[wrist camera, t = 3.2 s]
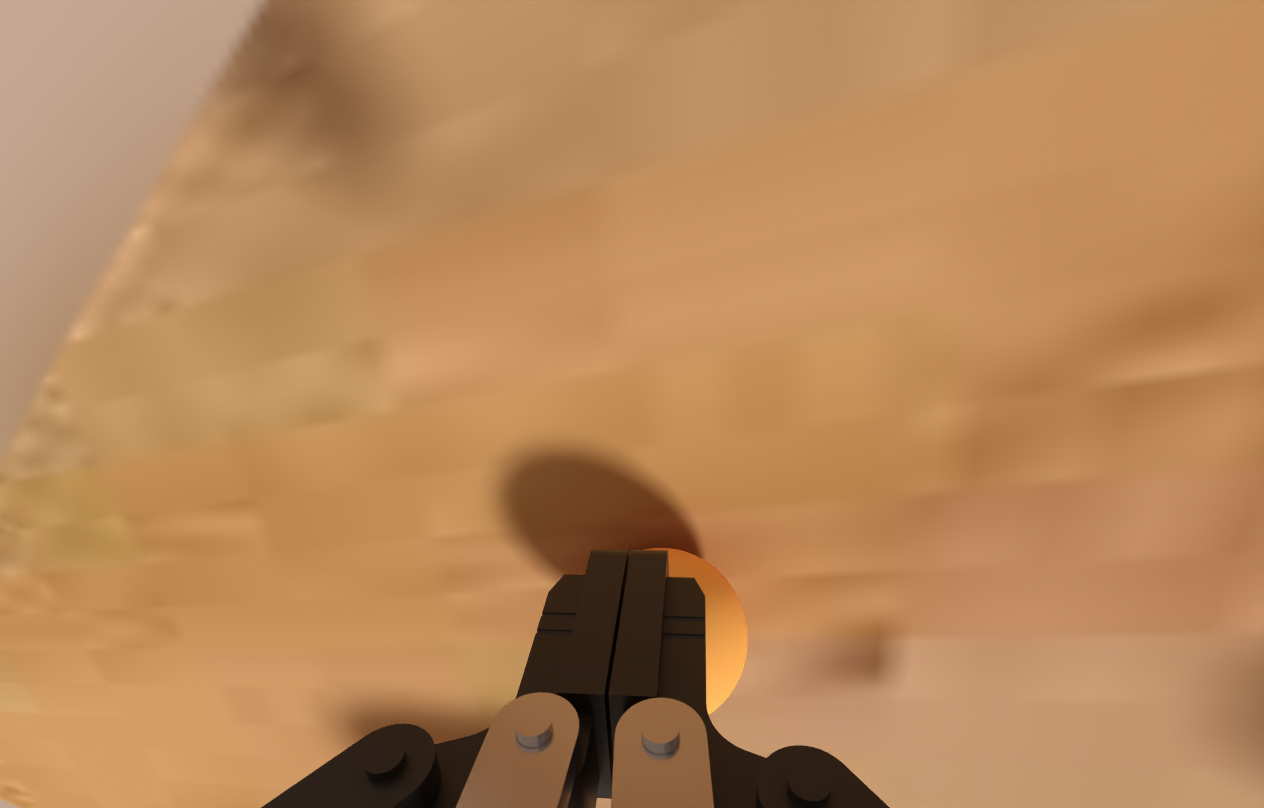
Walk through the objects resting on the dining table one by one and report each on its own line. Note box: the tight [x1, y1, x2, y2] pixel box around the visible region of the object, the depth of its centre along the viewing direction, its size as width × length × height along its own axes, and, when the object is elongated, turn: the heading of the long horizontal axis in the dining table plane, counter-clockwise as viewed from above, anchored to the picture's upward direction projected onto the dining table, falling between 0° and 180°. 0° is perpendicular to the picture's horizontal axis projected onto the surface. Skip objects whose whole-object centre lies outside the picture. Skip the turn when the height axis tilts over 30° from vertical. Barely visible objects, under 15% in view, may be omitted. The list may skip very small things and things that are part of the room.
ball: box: [645, 548, 748, 715], centre depth 24 cm, size 6×6×6 cm
